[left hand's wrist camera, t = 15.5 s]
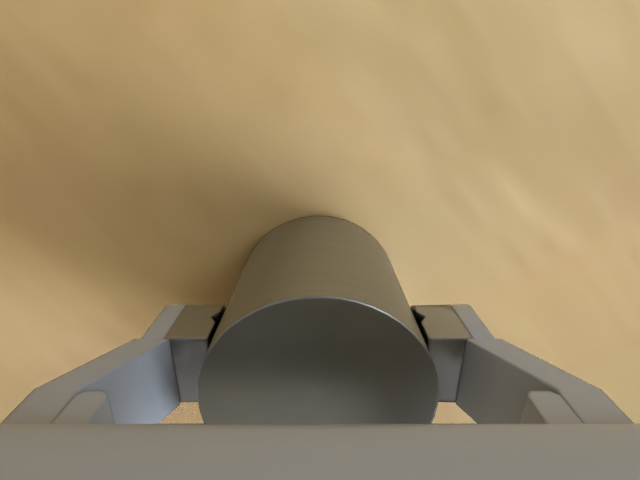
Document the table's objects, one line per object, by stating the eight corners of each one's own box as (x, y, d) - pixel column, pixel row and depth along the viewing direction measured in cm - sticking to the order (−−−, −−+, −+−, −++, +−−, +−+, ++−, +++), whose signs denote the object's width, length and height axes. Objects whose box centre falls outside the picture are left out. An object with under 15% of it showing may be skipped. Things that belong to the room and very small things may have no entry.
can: (211, 284, 12) (145, 398, 8) (322, 182, 11) (324, 243, 6) (315, 373, 14) (312, 518, 9) (424, 290, 12) (487, 407, 8)
